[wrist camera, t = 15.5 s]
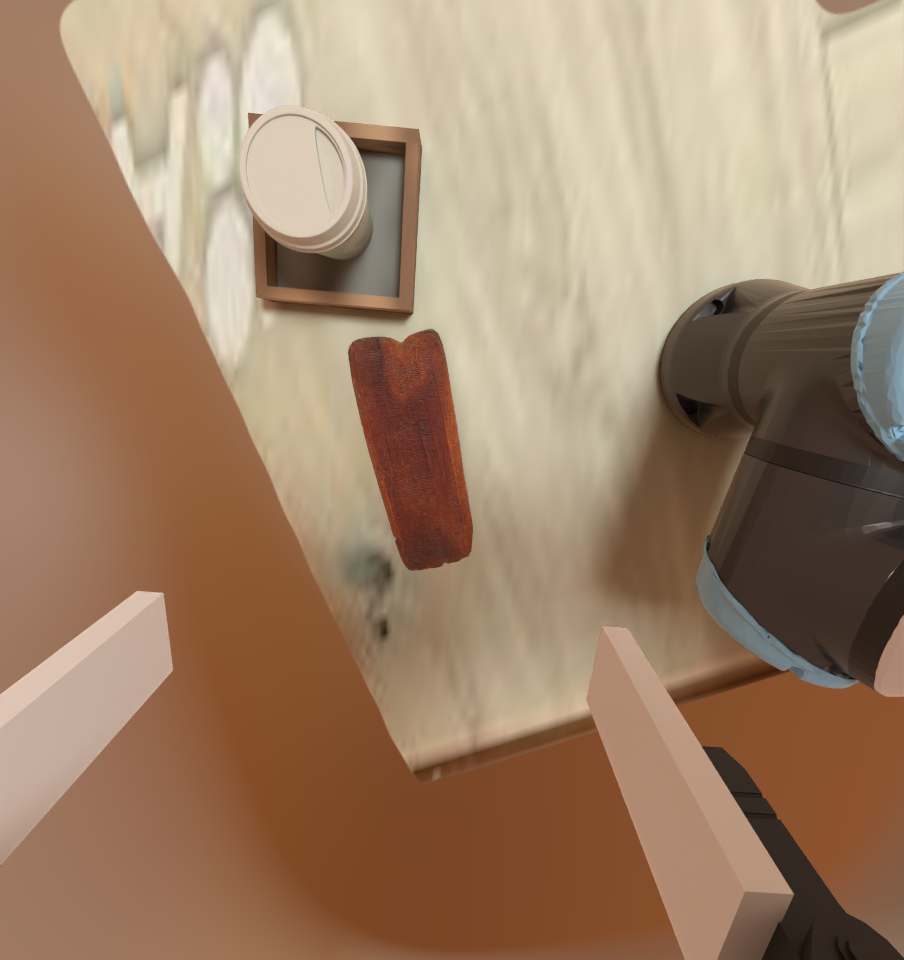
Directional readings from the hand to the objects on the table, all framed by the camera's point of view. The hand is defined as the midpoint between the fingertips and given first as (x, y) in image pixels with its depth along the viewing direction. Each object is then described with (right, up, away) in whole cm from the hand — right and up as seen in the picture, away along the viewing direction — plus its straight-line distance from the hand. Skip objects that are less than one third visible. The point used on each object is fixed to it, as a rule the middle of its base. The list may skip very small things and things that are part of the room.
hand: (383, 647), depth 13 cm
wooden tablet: (-2, +7, +35) cm, 36 cm away
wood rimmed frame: (-8, +29, +28) cm, 41 cm away
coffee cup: (-8, +29, +27) cm, 40 cm away
